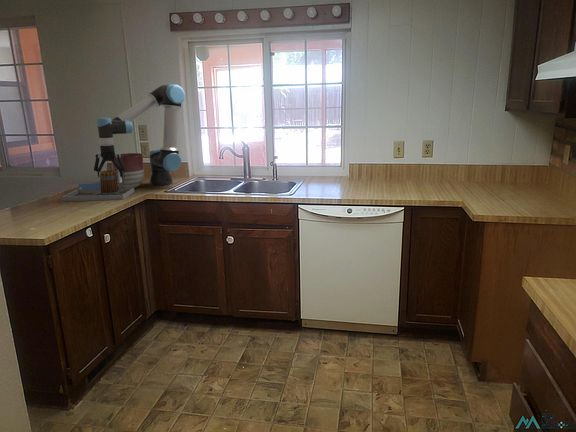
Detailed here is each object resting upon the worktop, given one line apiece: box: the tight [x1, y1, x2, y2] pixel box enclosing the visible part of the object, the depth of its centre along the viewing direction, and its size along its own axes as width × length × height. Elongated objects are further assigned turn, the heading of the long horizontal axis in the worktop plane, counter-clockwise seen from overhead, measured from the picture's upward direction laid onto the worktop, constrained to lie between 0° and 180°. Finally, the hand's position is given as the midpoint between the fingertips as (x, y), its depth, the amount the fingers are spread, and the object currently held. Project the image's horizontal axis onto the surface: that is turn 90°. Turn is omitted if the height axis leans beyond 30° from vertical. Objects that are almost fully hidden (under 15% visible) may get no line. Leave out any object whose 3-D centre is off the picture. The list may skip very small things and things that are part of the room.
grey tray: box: [60, 182, 135, 202], centre depth 255 cm, size 35×22×6 cm, turn 92°
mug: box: [99, 169, 125, 195], centre depth 254 cm, size 16×11×15 cm
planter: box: [110, 152, 145, 189], centre depth 275 cm, size 20×20×21 cm
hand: (111, 182), depth 253 cm, fingers closed on mug, 10 cm apart
